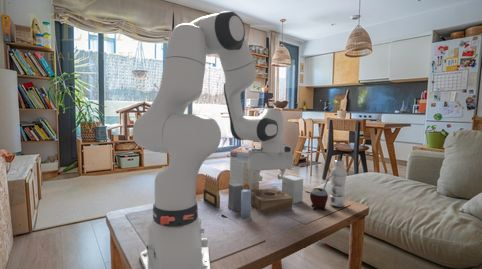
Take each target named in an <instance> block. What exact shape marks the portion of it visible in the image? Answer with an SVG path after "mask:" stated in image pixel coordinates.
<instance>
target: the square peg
mask: <svg viewBox="0 0 482 269" xmlns="http://www.w3.org/2000/svg"><path fill="white" fill-rule="evenodd" d="M242 190H243V185H241V184H239V183H231V184H230V183H228V199H227V200H228V207H227V208H228V209H230V210H231V211H232V212H235V211H239V210H240V211H241V191H242Z"/></svg>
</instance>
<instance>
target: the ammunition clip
mask: <svg viewBox="0 0 482 269" xmlns="http://www.w3.org/2000/svg"><path fill="white" fill-rule="evenodd" d="M204 178H205V179H204V186H203V187H204V189H203V197H202V198H203V201H204V202H205V203H207V204H209V205H210V206H212V207H214V208H216V209H217V208H220V207H221V195H220V185H219V184H220V183H219V182H220V181H219V178H216V177H214V176H212V175H209V174H207V173H205V176H204Z"/></svg>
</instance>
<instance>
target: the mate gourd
mask: <svg viewBox="0 0 482 269" xmlns="http://www.w3.org/2000/svg"><path fill="white" fill-rule="evenodd" d="M333 175H334V174H332V175H331V174H330V175H329V176H328V177H327V178H326V181H325V183H324V186H323V188H321V187H314V188H312V190H311V191H310V194H309V195H310V196H309V198H310V202H311V207H312V208H313V209H312V211H317V210H320V209H321V210H320V211H323V210H324V211H326V206H327V201H328V200H329V195H328V192H327V190H326V187H327V184H328V182H329V180H330V179H331V177H332V176H333ZM316 209H317V210H316Z"/></svg>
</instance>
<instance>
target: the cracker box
mask: <svg viewBox="0 0 482 269" xmlns="http://www.w3.org/2000/svg"><path fill="white" fill-rule="evenodd" d="M248 151H249V150H246V149H239V148H237V149H230V157H229V158H230V159H229V161H230V162H229V184H231V183H239V184H241V185H243V190H257V189H260V181H258V176H257V175H256V173H255V171H250V170H249V169H248V168H247V163H248Z"/></svg>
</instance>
